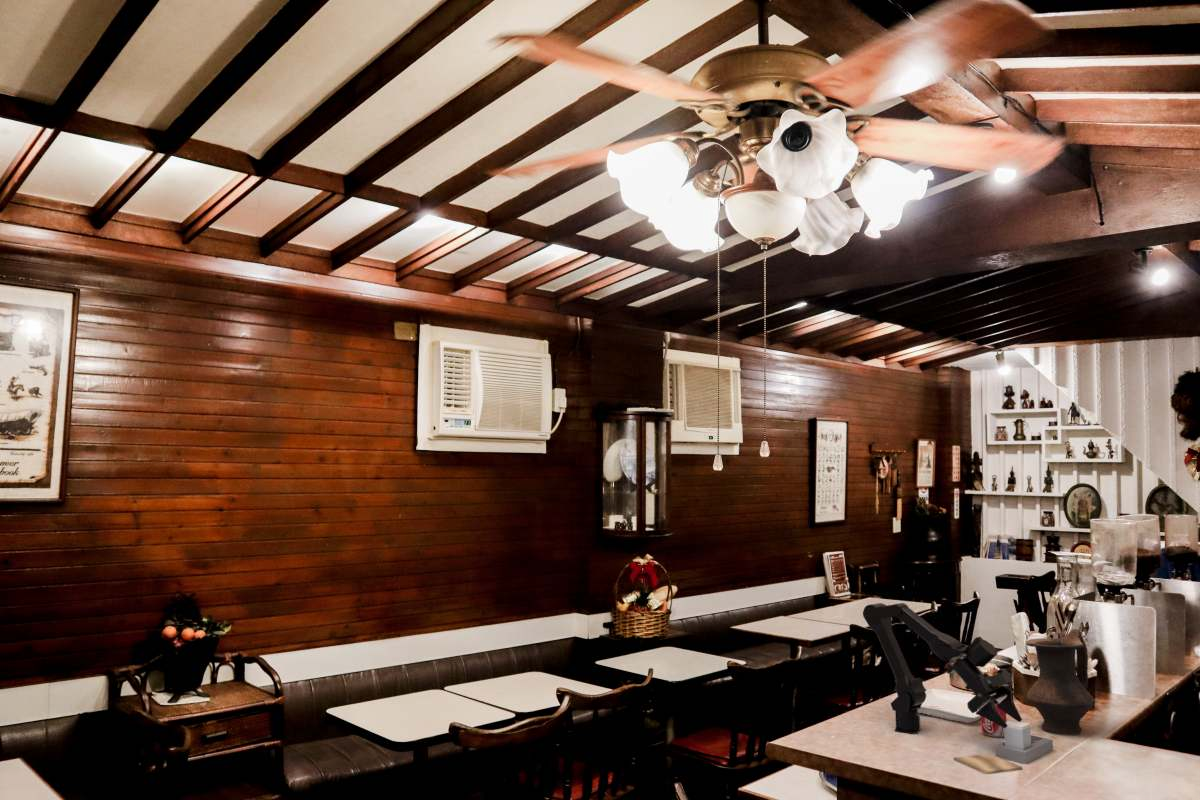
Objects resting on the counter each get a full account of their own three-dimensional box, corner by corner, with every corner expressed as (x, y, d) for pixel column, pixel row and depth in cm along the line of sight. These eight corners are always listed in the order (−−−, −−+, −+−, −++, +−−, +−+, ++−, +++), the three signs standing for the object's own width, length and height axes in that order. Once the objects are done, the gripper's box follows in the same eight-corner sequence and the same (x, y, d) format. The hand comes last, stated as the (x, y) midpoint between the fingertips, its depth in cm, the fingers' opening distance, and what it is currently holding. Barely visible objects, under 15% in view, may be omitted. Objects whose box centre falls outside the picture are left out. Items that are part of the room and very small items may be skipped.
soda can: (1009, 739, 252) (1008, 697, 253) (984, 737, 254) (982, 696, 255) (1003, 732, 259) (1001, 691, 260) (978, 730, 260) (977, 690, 262)
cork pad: (985, 774, 222) (985, 771, 222) (953, 759, 233) (953, 757, 233) (1022, 769, 225) (1022, 767, 226) (989, 755, 237) (989, 753, 237)
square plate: (931, 697, 302) (930, 686, 303) (1010, 713, 282) (1009, 701, 282) (892, 711, 284) (892, 699, 284) (974, 729, 264) (974, 716, 264)
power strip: (1025, 764, 230) (1024, 751, 230) (995, 756, 236) (995, 745, 236) (1052, 750, 241) (1052, 739, 242) (1024, 744, 247) (1023, 732, 248)
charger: (1023, 761, 232) (1022, 727, 233) (1005, 756, 236) (1003, 723, 237) (1031, 757, 236) (1030, 723, 236) (1013, 752, 239) (1011, 719, 240)
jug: (1068, 743, 248) (1062, 638, 251) (1014, 726, 265) (1009, 628, 268) (1116, 734, 257) (1110, 633, 260) (1061, 719, 274) (1056, 624, 277)
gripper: (976, 664, 237) (1018, 713, 228) (1006, 655, 249) (1047, 701, 240) (950, 688, 242) (990, 736, 233) (980, 678, 254) (1020, 724, 245)
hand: (1013, 724), depth 237 cm, fingers open, 9 cm apart
